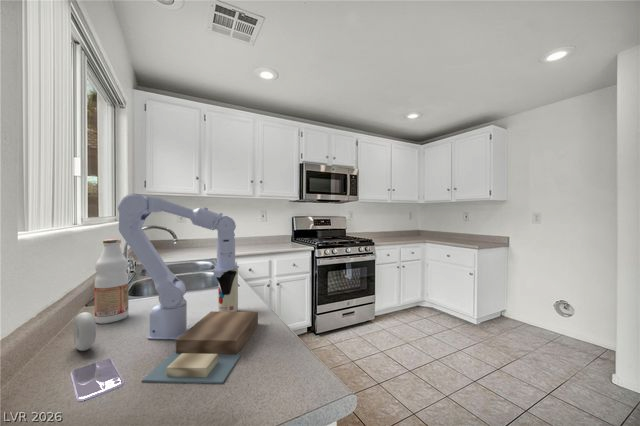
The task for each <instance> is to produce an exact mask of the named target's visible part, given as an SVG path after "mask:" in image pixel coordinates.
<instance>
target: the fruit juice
mask: <svg viewBox="0 0 640 426" xmlns="http://www.w3.org/2000/svg"><path fill="white" fill-rule="evenodd" d="M121 242H122V240H121V239H120V238H112V239H111V238H109V239H103V240H102V243H103V249H102V252H101V254H100V255H99V258H98V259H97V260H96V262H95V266H94V268H95V272H96V277H95V279H94V319H95V324H110V323H115V322H119V321H122V320H124V319H126V318H127V317H128V316H129V275H128V272H127V270H128V266H129V261H128V259H127V258H126V256H125V255H124V253H123V250H122V248H121Z"/></svg>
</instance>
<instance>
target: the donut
mask: <svg viewBox="0 0 640 426" xmlns="http://www.w3.org/2000/svg"><path fill="white" fill-rule="evenodd" d="M96 324H97V323H96V322H95V316H94V315H93V314H92V313H91V312H87V311H83V312H81V313H78V315H77V316H76V317H75V318H74V321H73V327H72V330H73V331H72V334H73V336H72V337H73V343H74V345H75V348H76V349H77V350H79V351H81V352H85V351H88V350H89V349H90V348H92V347H93V346H94V344H95V341H96V338H97V325H96Z"/></svg>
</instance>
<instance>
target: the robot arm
mask: <svg viewBox="0 0 640 426" xmlns="http://www.w3.org/2000/svg"><path fill="white" fill-rule="evenodd" d="M117 211H118V231H119V233H120V235H121V236H122V238H123V240H125V242H126V244H127V245H128V247H130V249H131V250H132V252H133V253H134V255H135V257H136V258H137V260H138V261H139V262H140V264H141V265H142V267H143V268H144V269H145V271H146V273H148V275H149V277H150V278H151V280H152V281H153V284H154V288H155V291H156V293H157V295H158V302H159V304H156V305H155V306H153V308H152V309H151V310H150V313H149V336H147V339H148V340H176V339H177V338H179V337H180V336H181V335H182V334H184V333H185V332H186V331H187V330H189V329H190V328H191V327H192V326H187V325H188V324H187V320H188V319H187V316H188V313H187V309H188V307H187V304H188V303H187V300H186V298H185V297H184V296H185V294H186V293H187V289H188V288H187V285H186V283H185V282H184V281H183V280H181V279H179V278H178V276H176V274H174V273H173V272H172V271H171V270H170V268H169V266H167V264H166V263H165V261H164V259H163V258H162V256H161V255H160V254H159V252H158V251H157V249H156V248H155V246H154V244H153V243H152V241H151V240H150V238H149V237H148V235H147V234H146V232H145V231H144V230H143V226H144V224H145V223H146V222H145V221H146V219H147V218H148V217H149V216H150V215H151V214H152V213H159V212H165V213H168V214H172V215H175V216H179V217H182V218H184V219H185V218H187V219H189V220H190V221H191V223H192V225H194V226H198V227H201V228H204V229H207V230H211V231H215V230H216V231H217V239H216V267H215V270H213V272H212V273H213V278H216V281H218V282H219V284H220V287H221V291H222V294H223V295H229V294H230V293H231V288H232V284H233V280H234V278H235V275H236V274H237V271H232V270H233V269H238V270H239V268H240V266H239V265H238V262H237V261H236V238H235V236H236V233H235V230H236V229H237V228H236V227H237V225H236V222H235V220H234V219H233V218H232V217H230V216H227V215H224V214H223V213H222V212H220V213H218V212H214V211H212V210H209V208H208V207H205V206H204V207H203V208H202V207H198V208H195V209H192V208H190V207H186V206H184V205H181V204H179V203H175V202H172V201H170V200H167V199H164V198H160V197H156V196H155V197H154V196H150V195H142V194H139V193H134V192H132V193H129V194H126V195H125V196H123V198H122V199H121V200H120V202H119V205H118V206H117Z"/></svg>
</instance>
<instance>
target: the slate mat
mask: <svg viewBox="0 0 640 426" xmlns="http://www.w3.org/2000/svg"><path fill="white" fill-rule="evenodd" d="M180 355H181V354H176V351H174V352H172V353H171V354H170V355H168V356H167V358H165V359H164V360H163V361H162V362H161V363H160V364H159V365H157V366H156V367H155V368H154V369H153V370H151V371H150V373H148V374H147V375H146V376H145V377H144V378H142V379H141V383H171V384H172V383H173V384H175V383H176V384H219V385H221V384H222V385H223V384H224V383H225V381H226V380H227V378H228V376H229V375H230V373H231V372H232V371H233V368H234V367H235V366H236V364H237V362H238V361H239V360H240V357H241V356H242V352H239V353H237V355H229V354H218V363H217V364H216V365H215V366H214V368H213V369H212V370H211V372H210V373H209V374H208V376H207V377H171V376H167V367H168V366H169V365H170V364H171V363H172V362H173V361H174V360H175V359H176V358H177V357H179V356H180Z"/></svg>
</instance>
